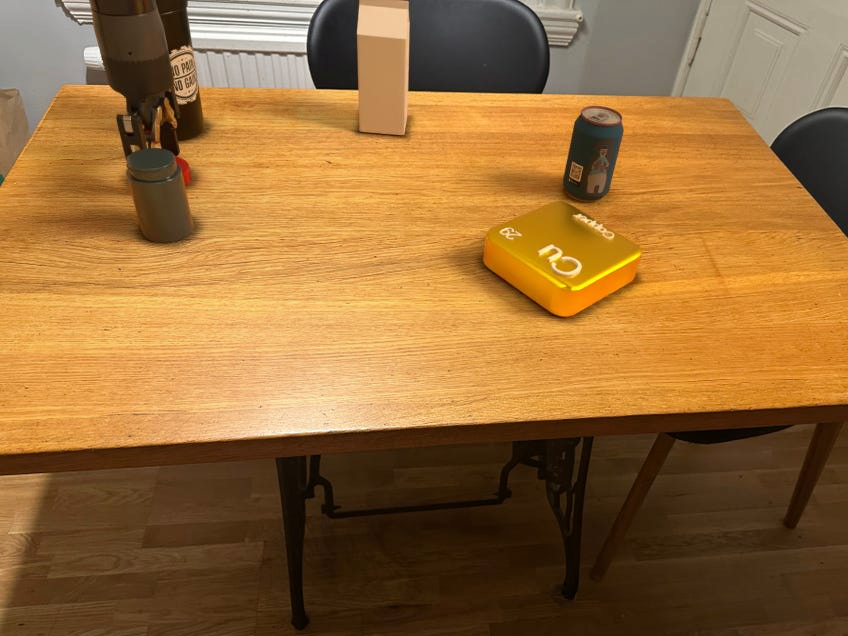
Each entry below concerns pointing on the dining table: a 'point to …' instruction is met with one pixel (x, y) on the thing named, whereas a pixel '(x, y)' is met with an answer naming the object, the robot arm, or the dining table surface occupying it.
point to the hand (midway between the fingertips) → (162, 169)
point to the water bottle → (182, 67)
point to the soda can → (593, 153)
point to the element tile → (561, 257)
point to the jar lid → (184, 170)
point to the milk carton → (383, 65)
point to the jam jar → (159, 195)
